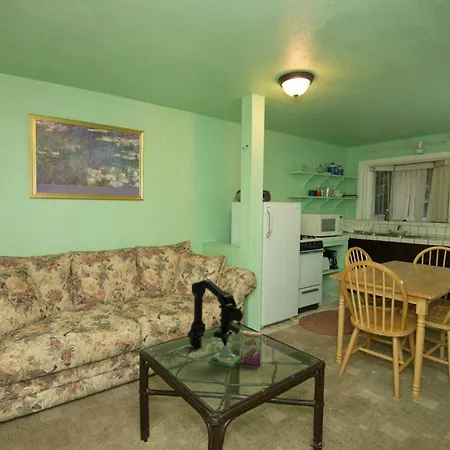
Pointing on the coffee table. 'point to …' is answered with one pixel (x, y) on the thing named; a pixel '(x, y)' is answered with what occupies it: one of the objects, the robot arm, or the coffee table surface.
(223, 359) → the board
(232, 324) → the robot arm
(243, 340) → the candy bar box
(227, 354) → the plug
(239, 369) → the coffee table surface
